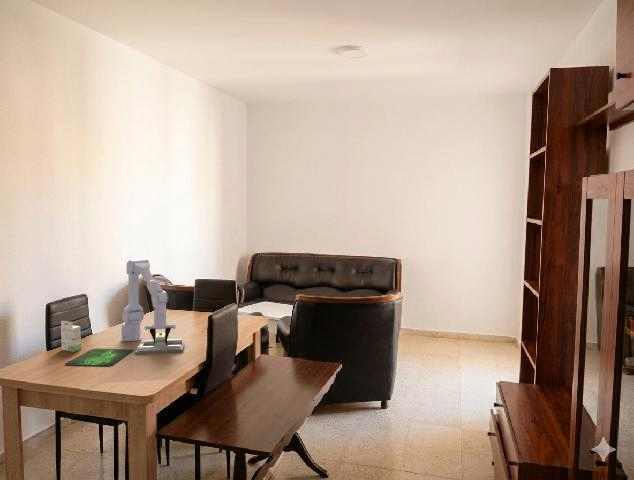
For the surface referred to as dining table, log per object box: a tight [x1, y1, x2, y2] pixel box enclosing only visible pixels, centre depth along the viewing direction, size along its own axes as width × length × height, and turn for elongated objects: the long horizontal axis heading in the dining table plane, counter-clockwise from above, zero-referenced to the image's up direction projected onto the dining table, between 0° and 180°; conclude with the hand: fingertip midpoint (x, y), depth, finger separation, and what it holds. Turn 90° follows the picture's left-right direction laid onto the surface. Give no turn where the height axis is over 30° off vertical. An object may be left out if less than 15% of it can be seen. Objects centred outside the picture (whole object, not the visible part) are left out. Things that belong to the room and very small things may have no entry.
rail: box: [137, 338, 183, 351], centre depth 256 cm, size 20×12×2 cm, turn 101°
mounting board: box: [135, 342, 185, 355], centre depth 256 cm, size 22×13×1 cm, turn 101°
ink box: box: [60, 320, 82, 353], centre depth 254 cm, size 9×5×15 cm, turn 65°
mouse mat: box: [65, 348, 135, 367], centre depth 243 cm, size 27×22×1 cm
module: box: [155, 331, 166, 346], centre depth 256 cm, size 5×8×7 cm, turn 12°
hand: (160, 343), depth 256 cm, fingers closed on module, 5 cm apart
